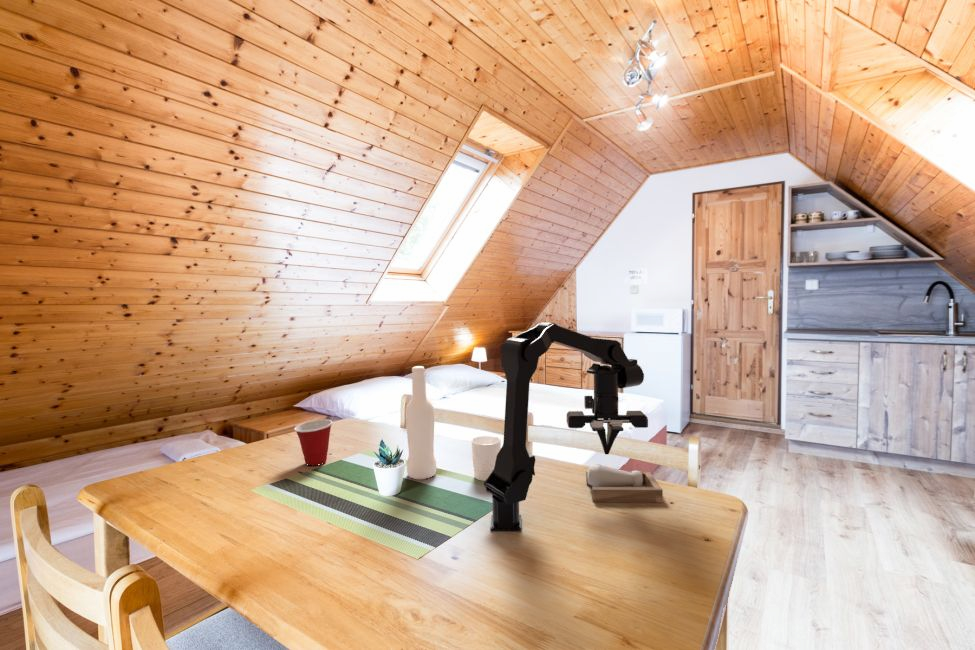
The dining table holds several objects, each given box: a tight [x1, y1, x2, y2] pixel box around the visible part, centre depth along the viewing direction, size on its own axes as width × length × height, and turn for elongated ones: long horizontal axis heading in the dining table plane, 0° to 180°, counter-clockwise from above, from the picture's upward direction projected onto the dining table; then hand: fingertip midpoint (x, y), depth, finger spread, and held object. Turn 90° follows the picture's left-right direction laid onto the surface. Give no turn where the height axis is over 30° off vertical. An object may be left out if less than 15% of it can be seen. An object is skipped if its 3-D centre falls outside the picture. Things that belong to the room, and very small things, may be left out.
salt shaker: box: [587, 463, 643, 487], centre depth 121 cm, size 6×6×13 cm
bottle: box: [404, 365, 438, 480], centre depth 133 cm, size 8×8×30 cm
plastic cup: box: [293, 419, 333, 465], centre depth 145 cm, size 11×11×12 cm
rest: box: [585, 470, 664, 503], centre depth 120 cm, size 12×16×3 cm
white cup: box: [471, 435, 502, 482], centre depth 132 cm, size 8×8×10 cm
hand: (606, 453), depth 119 cm, fingers closed
